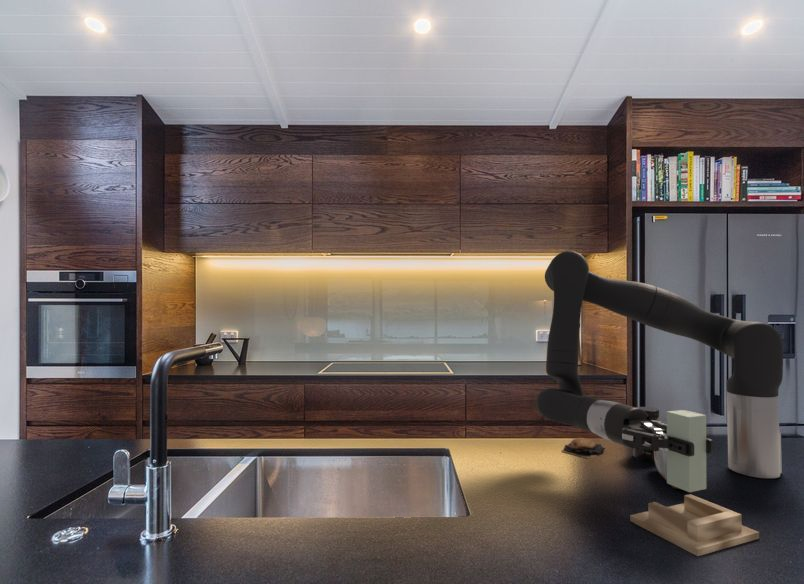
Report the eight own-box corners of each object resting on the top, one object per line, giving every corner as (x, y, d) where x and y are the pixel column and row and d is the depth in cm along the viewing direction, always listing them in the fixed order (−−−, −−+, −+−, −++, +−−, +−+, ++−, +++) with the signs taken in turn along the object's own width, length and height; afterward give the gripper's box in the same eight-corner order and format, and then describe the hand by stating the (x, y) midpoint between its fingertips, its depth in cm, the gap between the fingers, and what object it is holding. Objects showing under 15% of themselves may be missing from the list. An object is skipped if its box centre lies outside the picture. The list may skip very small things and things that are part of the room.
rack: (687, 507, 85) (687, 488, 85) (759, 538, 73) (758, 516, 74) (630, 521, 79) (630, 500, 79) (697, 556, 68) (697, 532, 68)
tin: (693, 496, 90) (693, 452, 90) (675, 494, 91) (675, 451, 91) (666, 469, 105) (665, 431, 105) (650, 468, 105) (650, 431, 106)
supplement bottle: (635, 452, 117) (635, 404, 117) (667, 457, 113) (666, 407, 113) (630, 460, 111) (630, 409, 111) (663, 465, 107) (662, 413, 107)
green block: (683, 480, 80) (683, 409, 80) (706, 488, 76) (706, 415, 76) (666, 483, 78) (666, 411, 79) (689, 492, 75) (689, 417, 75)
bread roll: (589, 462, 111) (589, 446, 111) (557, 453, 118) (557, 438, 118) (610, 452, 118) (610, 438, 118) (579, 445, 125) (579, 431, 125)
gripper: (589, 405, 88) (671, 429, 72) (644, 400, 93) (732, 421, 77) (589, 445, 88) (671, 477, 72) (644, 438, 93) (732, 466, 77)
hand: (702, 448), depth 75 cm, fingers closed on green block, 4 cm apart
